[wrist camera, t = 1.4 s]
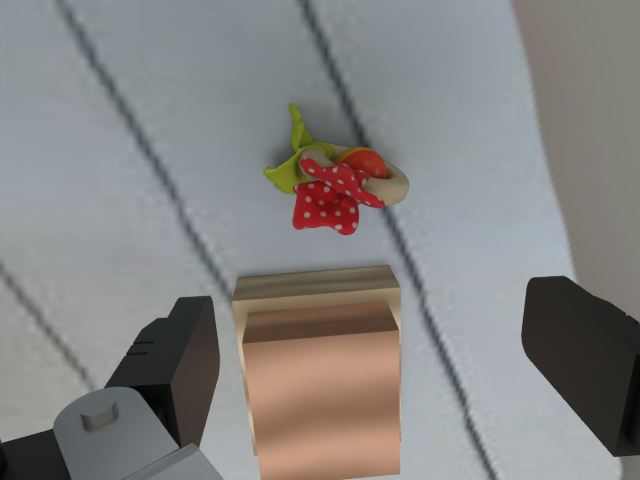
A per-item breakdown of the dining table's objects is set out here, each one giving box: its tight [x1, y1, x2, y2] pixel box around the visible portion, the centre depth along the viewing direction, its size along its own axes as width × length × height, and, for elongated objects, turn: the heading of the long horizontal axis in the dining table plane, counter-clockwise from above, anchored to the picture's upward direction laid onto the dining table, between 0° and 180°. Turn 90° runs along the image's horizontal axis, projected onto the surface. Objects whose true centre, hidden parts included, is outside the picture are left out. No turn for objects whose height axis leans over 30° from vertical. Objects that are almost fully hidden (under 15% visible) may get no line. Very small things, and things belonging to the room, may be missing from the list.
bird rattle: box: [263, 103, 409, 235], centre depth 28 cm, size 6×11×9 cm
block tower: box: [232, 266, 401, 480], centre depth 34 cm, size 14×12×8 cm
